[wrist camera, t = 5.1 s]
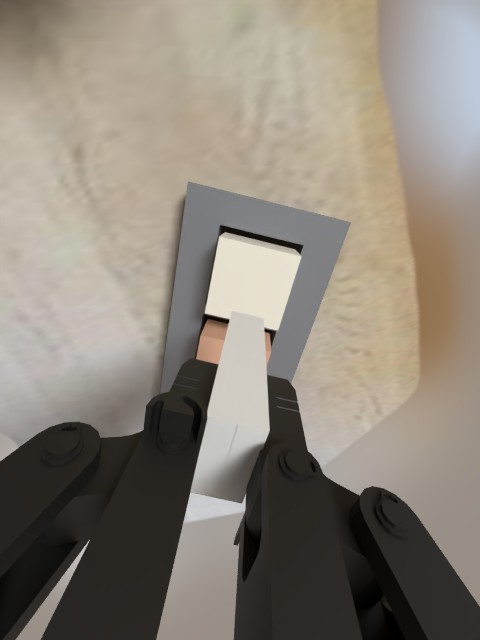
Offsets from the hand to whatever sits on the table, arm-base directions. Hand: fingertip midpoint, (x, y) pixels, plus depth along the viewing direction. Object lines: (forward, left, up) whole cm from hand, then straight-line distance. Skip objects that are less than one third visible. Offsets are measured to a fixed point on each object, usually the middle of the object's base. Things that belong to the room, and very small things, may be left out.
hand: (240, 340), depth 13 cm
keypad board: (+8, 0, -14) cm, 16 cm away
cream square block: (0, 0, -12) cm, 12 cm away
